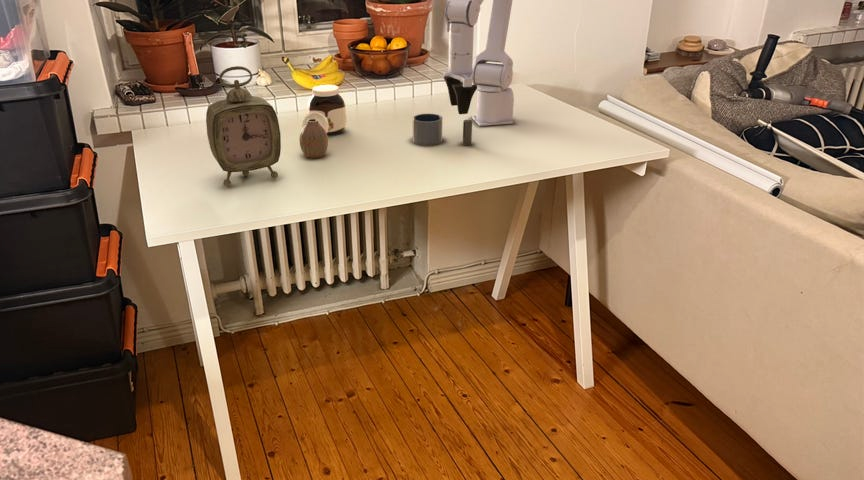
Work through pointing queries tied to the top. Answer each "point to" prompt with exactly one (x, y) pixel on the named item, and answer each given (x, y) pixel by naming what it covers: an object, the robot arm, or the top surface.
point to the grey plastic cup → (427, 129)
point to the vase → (313, 139)
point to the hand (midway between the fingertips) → (459, 109)
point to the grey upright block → (467, 132)
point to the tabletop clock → (243, 131)
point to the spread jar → (327, 109)
